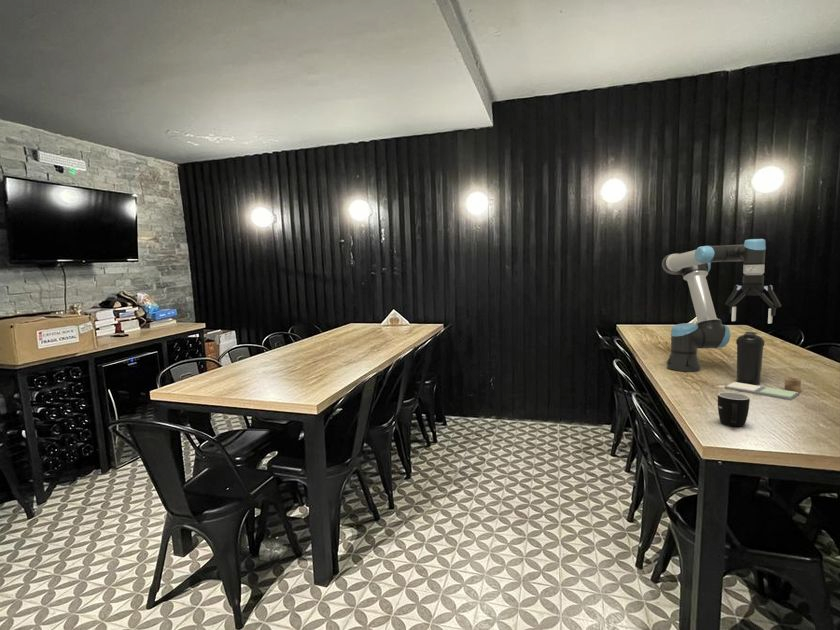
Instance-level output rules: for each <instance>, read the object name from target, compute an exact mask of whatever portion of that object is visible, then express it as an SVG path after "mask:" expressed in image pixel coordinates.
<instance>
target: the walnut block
mask: <svg viewBox="0 0 840 630" xmlns="http://www.w3.org/2000/svg"><path fill="white" fill-rule="evenodd" d="M801 381H802V380H801V378H795V377H787V376H786V377H784V389H783V390H787V391H793V392H798V393H799V394H801V387H802V386H801V385H802V384H801V383H802V382H801Z"/></svg>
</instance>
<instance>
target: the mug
mask: <svg viewBox="0 0 840 630" xmlns="http://www.w3.org/2000/svg"><path fill="white" fill-rule="evenodd" d="M750 400H751V399H750V396H749V395H746V394H744V393H740V392H735V391H734V392H733V391H722V392H719V393H717V412H718V417H719V420H720V423H721V424H722V425H724V426H726V427H731V428H742V427H744V426H745V424H746V423H747V420H748V415H749V408H750V402H751V401H750Z"/></svg>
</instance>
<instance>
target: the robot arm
mask: <svg viewBox="0 0 840 630" xmlns="http://www.w3.org/2000/svg"><path fill="white" fill-rule="evenodd" d="M766 249H767V246H766V239H764V238H750V239H745V240H744V243H743V244H730V245H729V244H728V245H703V246H699V247H697V248H696V249H694V250H690V251H685V252H681V253H672V254H667V255H666V256H665V257H664V258H663V259H662V261H661V267H662V269H663V271H664V272H666V273H667V274H669V275H673V276H674V275H682V279H683V280H684V281H686V282H687V285H688V289H689V293H690V297H691V301H692V304H693V305H692V306H693V308H694V312H695V317H696V320H697V322H696V323H695V322H686V323H685V322H682V323H678V324H674V325H673V326H672V327H671V332H670V354H669V356H668V359H667V362H666V368H667V369H668V368H669V370H671V369H673V370H672V371H675V370H678V371H677V372H683V371H687V373H689V372H690V373H691V372H692V371H696V372H700V371H701V364H700V360H699V357H698V349H721V348H724V347H726V346H727V345H728V344H729V343H730V339H731V330H730V328H729V326H727V325H725V324H723V322H722V320H721V319H720V318H718V317H717V314H716V310H715V307H714V303H713V300H712V296H711V292H710V289H709V284H708V280H707V278H706V277H707V276H708V275H709V272H710V270H711V269H712V268H711V267H712V265H711V264H712V263H719V262H720V263H723V262H732V263H733V262H743V266H742V267H743V269H742V273H743V275H742V285H739V284H736V285H735V284H734V285H733V290H732V291H731V293H730V294H729V296H728V298H727V299H726V301H725V302H724V305H725V306H728V307H729V313H728V314H731V322H736V321H737V306H736V305H737V304H738V303H739V302H740V301H741V300H742V299H743V298H744V297H746V296H753V297H754V296H759V297H760V298H761V299H762V300H763V301H764V302H765V303H766V304H767V306H768V307H769V308H768V313H767V314H768V315H767V316H768V317H767V324H773V317H774V316H776V310H777V308H781V307H782V304H781V302H780V300H779V299H778V296H777V295H776V293H775V291H774V287H773V285H771V284H770V285H765V282H764V281H765V275H764V274H765V264H766V263H765V261H766ZM740 290H742V292H741V293H740V294H739V295H738V296H737V297H736V298H735V296H736V295H737V293H738V292H739V291H740ZM765 290H766V292H767V293H768V295H769V297H770V298H771V299H770V298H769V297H768V296H767V295H766V294H765V292H763V291H765ZM734 298H735V299H734ZM733 299H734V300H733ZM771 300H772V301H771ZM699 370H700V371H699ZM688 371H689V372H688Z"/></svg>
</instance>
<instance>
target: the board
mask: <svg viewBox="0 0 840 630" xmlns="http://www.w3.org/2000/svg"><path fill="white" fill-rule="evenodd" d="M724 388H725V390H729V389H730V391H734V392H735V391H736V392H741V393H742V392H743V393H748V394H753V395H759V396H765V397H770V398H775V399H780V400H781V399H782V400H788V401H793V400H794V399H795V398H796V397H798V396H800V393H797V392H793V391H787V390H785V389H781V388H773V387H770V386H769V387H767V386H760V385H750V384H744V383H738V382H737V381H733V382H731V383H729V384H727V385H726V386H724Z"/></svg>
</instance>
